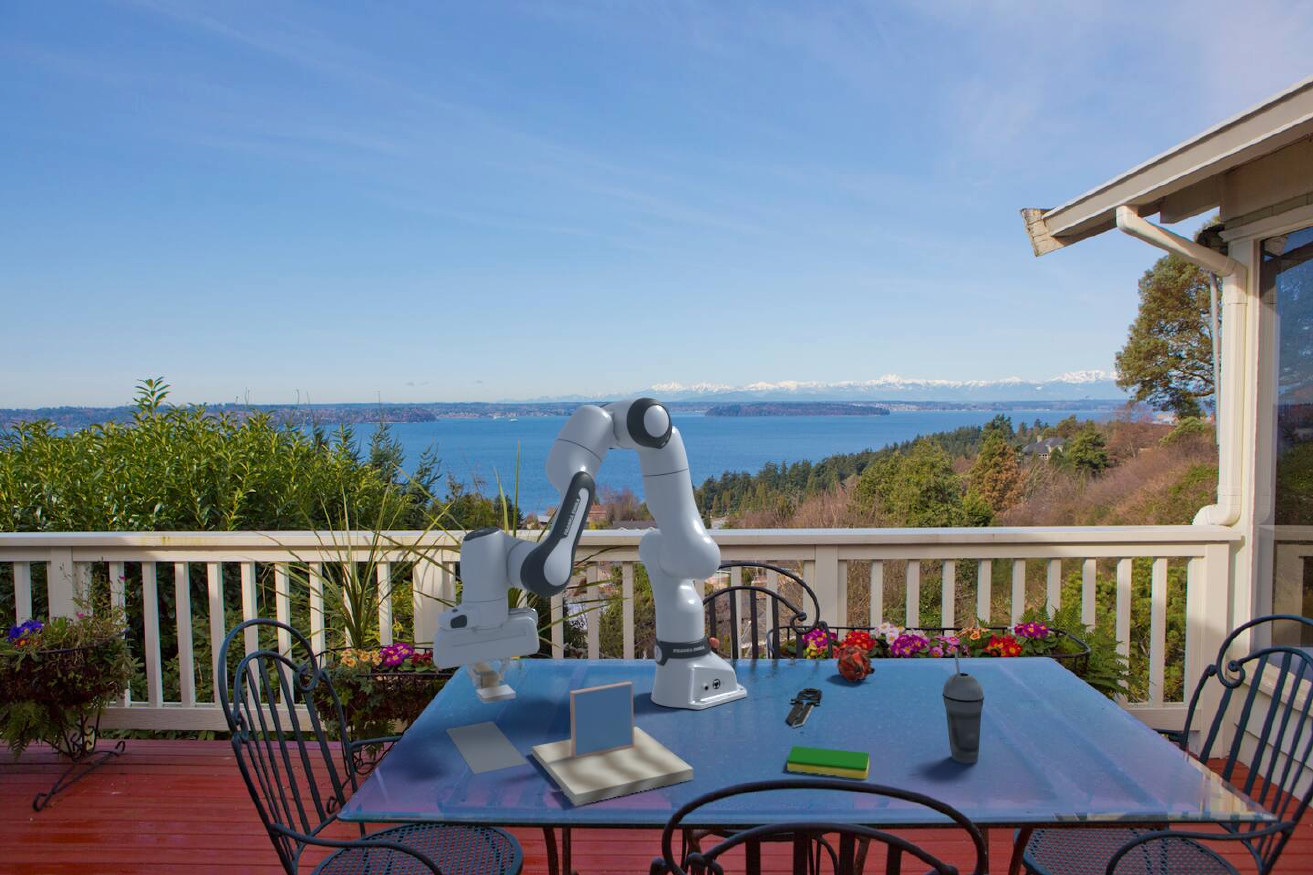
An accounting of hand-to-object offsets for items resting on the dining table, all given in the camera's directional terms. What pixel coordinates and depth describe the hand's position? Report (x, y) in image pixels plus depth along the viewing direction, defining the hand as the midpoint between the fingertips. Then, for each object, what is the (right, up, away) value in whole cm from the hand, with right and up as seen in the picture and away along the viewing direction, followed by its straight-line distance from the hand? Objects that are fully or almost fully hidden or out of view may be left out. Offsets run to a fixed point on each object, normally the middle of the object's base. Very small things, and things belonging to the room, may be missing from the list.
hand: (488, 683), depth 158 cm
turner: (-1, -1, +2) cm, 2 cm away
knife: (+65, -13, +21) cm, 70 cm away
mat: (-1, -14, +2) cm, 14 cm away
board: (+24, -13, -9) cm, 29 cm away
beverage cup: (+89, -12, -8) cm, 90 cm away
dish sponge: (+64, -13, -11) cm, 66 cm away
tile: (+23, -11, -6) cm, 26 cm away
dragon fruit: (+81, -12, +42) cm, 93 cm away
